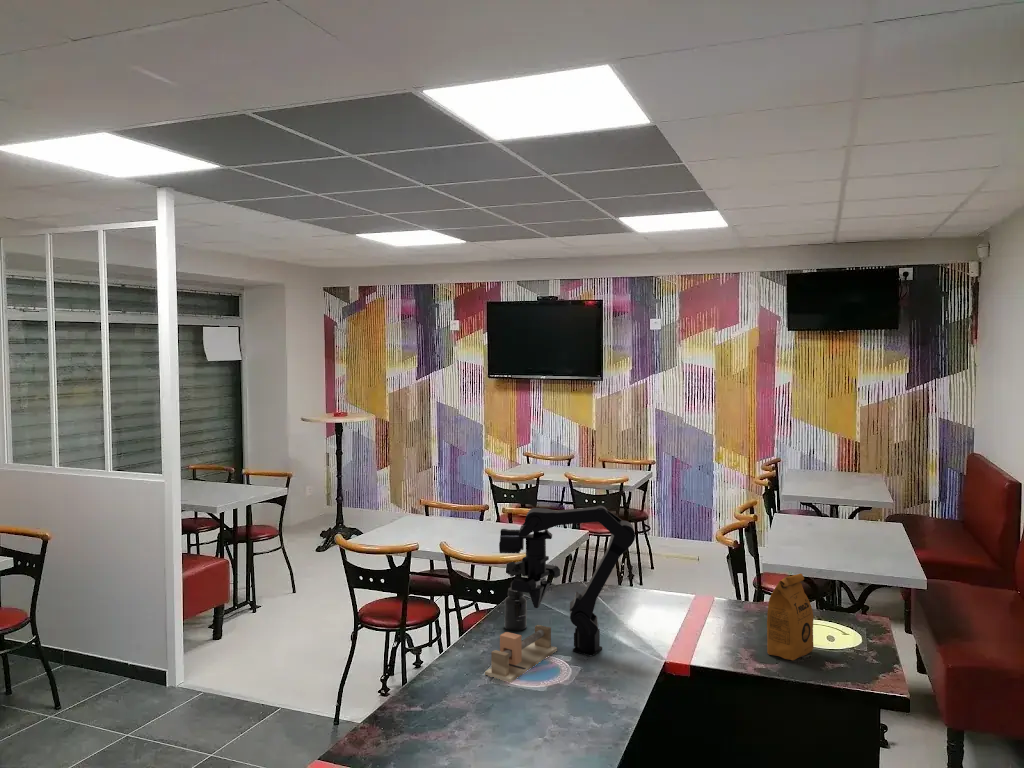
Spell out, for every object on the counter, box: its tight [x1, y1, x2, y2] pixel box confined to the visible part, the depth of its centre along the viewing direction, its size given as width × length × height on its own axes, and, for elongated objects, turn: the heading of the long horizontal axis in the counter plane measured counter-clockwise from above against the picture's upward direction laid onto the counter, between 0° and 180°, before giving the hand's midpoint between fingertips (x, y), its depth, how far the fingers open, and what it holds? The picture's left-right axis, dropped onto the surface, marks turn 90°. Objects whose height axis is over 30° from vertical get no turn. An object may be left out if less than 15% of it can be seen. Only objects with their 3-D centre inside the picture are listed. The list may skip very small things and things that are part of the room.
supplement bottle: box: [504, 587, 528, 632], centre depth 226 cm, size 7×7×12 cm
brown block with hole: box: [499, 631, 523, 665], centre depth 195 cm, size 3×5×7 cm, turn 56°
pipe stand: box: [484, 624, 558, 683], centre depth 200 cm, size 24×8×6 cm, turn 146°
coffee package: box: [766, 573, 815, 661], centre depth 204 cm, size 10×12×22 cm
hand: (536, 607), depth 209 cm, fingers closed
